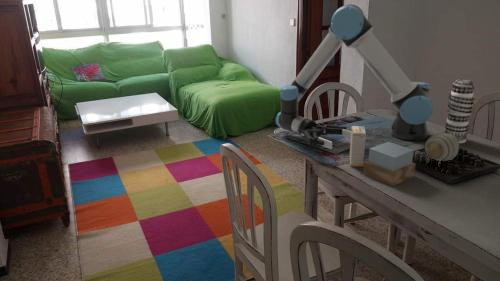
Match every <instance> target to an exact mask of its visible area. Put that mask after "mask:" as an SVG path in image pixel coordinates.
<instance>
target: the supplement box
mask: <svg viewBox="0 0 500 281" xmlns="http://www.w3.org/2000/svg"><path fill="white" fill-rule="evenodd" d="M350 131H351V139H350V144H349V145H350V146H349V164H350V167H354V168H355V167H356V168H357V167H359V168H363V164H364V161H365V160H364V159H365V151H366V150H365V147H366V136H367V132H366V130H365V126H363V125H351V130H350Z"/></svg>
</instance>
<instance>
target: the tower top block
mask: <svg viewBox="0 0 500 281" xmlns="http://www.w3.org/2000/svg"><path fill="white" fill-rule="evenodd" d="M368 150H369V151H368V160H369V161H368V162H370V163H372V164H375V165H377V166H380V167H382V168H385V169H387V170H390V171H392V172H394V171H396V170H399V169H401V168H403V167H406V166H408V165H410V164H412V162H413V159H414V158H413V157H414V149H412V148H408V147H405V146H402V145H399V144H397V143H393V142H391V141H386V142H384V143H381V144H378V145H375V146H373V147H370V148H369V149H368Z"/></svg>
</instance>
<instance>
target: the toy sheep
mask: <svg viewBox="0 0 500 281" xmlns="http://www.w3.org/2000/svg"><path fill="white" fill-rule="evenodd" d="M459 148H460V143H459V142H458V140H457V138H456V137H455V136H453V135H451V134H448V133H444V132H441V133H435V134H433V135H431V136H430V137H429V138H428V139H427V140H426V142H425V145H424V152H425V154H426V157H427V156H428V157H429V158H431V159H430V160H432V159H439V160H452V161H453V159H454V158H456V157H457V155H458V153H459Z"/></svg>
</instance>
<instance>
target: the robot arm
mask: <svg viewBox="0 0 500 281" xmlns="http://www.w3.org/2000/svg"><path fill="white" fill-rule="evenodd" d="M373 30H374V26H372V23H370V21H369V20H368V18H366V16H365V14H364V11H363V10H362V8H360V7H359V6H358V5H356V4H345V5H342V6H340V7H339V8H337V10H336V11H334V13H333V15H332V17H331V21H330V26H329V27H328V33H327V34H326V36H324V38H323V40H322V41H321V42H320V44H319V45H318V47H317V48H316V50H315V51H314V52H313V54H312V55H311V57H310V58H309V59H308V60H307V62H306V63H305V65H304V66H303V68H302V69H301V70H300V72H299V73H298V74H297V76H296V77H295V78H294V80H293V81H292V83H291V84H290V85H289V84H288V85H284V86H282V87H281V88H280V95H279V96H280V97H279V98H280V111H279V112H278V113H277V115H276V117H275V123H276V125H277V126H278V127H280V128H281V129H283V130H284V131H289V132H292V133H293V134H296V135H299V136H301V138H302V139H304V140H305V141H306V142H307V144H309V145H310V146H314V147H317V146H322V147H324V148H327V149H329V150H332V149H333V141H331V140H328V139H325V138H322V137H320V136H327V135H335V136H336V135H338V136H342V137H345V138H348V139H350V140H351V130H348V129H347V126H343V125H342V126H341V125H340V126H339V125H332V124H327V123H323V124H322V125H318V124H317V122H316V121H315V120H312V119H309V118H306V117H303V116H301V115H299V102H300V101H301V99H302V98H303V96H304V95H305V94H306V93H307V91H309V88H310V87H311V86H312V84H314V82H315V80H316V79H317V78H318V77H319V75H320V74H321V73H322V71H323V70H324V69H325V67H326V66H327V65H328V64H329V63H330V61H331V60H332V58H333V57H334V56H335V55H336V54H337V52H338V51H339V50H340V48H341V47H342V46H343V44H344V45H345V46H346V48H350V49H354V50H355V52H356V54H358V56H359V57H360V58H361V59H362V60H363V62H364V63H365V64H366V65H367V67H368V69H370V71H371V72H372V73H373V74H374V76H375V77H376V78H377V79H378V81H379V82H380V83H381V84H382V85H383V87H384V88H385V89H386V90H387V92H388V94H390V96H391V97H390V102H391V103H392V105H393V106H394V107H395V108H396V114H395V115H396V116H395V118H394V121H393V122H392V124H391V127H390V135H391V136H392V137H394V138H397V139H401V140H407V141H422V140H425V139H427V137H428V134H429V130H428V124H427V121H428V120H429V119H430V118H431V117H432V115H433V113H434V104H433V101H432V100H431V98H430V95H429V94H430V90H431V89H430V84H429V83H427V82H422V81H411V80H410V79H409V77H407V75H406V74H405V72H404V71H403V70H402V69H401V68H400V66H399V65H398V64H397V62H396V61H395V60H394V59H393V57H392V56H391V55H390V54H389V52H388V51H387V50H386V49H385V47H384V46H383V44H382V43H381V42H380V40H378V38H377V37H376V36H375V34H374V33H373Z"/></svg>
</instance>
